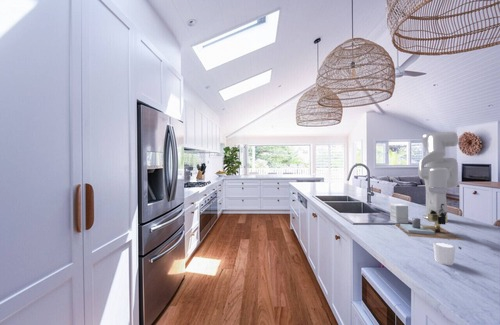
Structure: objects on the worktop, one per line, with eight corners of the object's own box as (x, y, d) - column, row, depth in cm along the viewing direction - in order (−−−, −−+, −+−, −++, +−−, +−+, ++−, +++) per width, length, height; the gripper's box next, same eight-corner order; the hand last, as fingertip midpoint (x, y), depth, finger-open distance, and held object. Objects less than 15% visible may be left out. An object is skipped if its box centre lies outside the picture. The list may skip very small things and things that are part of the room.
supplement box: (401, 222, 144) (401, 203, 144) (408, 225, 137) (408, 205, 137) (389, 222, 145) (389, 203, 145) (396, 225, 138) (396, 205, 138)
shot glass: (431, 261, 89) (431, 244, 89) (433, 256, 94) (433, 240, 94) (454, 267, 84) (455, 249, 84) (455, 261, 89) (455, 244, 89)
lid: (400, 226, 131) (400, 215, 131) (423, 227, 128) (423, 216, 128) (408, 232, 120) (408, 220, 120) (434, 234, 117) (434, 222, 116)
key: (421, 229, 124) (421, 213, 124) (444, 231, 121) (445, 214, 121) (423, 230, 122) (423, 214, 122) (447, 232, 119) (447, 215, 119)
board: (394, 226, 136) (394, 223, 136) (440, 229, 129) (440, 226, 129) (408, 238, 115) (408, 235, 115) (465, 243, 108) (465, 240, 108)
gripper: (422, 188, 130) (422, 217, 130) (438, 192, 114) (437, 226, 114) (437, 188, 128) (437, 218, 128) (455, 192, 111) (455, 227, 112)
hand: (437, 221), depth 121 cm, fingers open, 7 cm apart
